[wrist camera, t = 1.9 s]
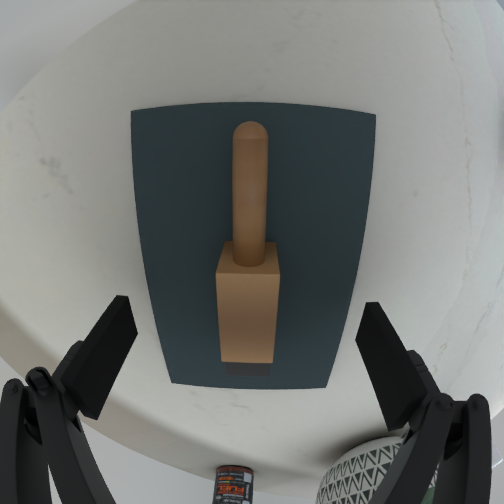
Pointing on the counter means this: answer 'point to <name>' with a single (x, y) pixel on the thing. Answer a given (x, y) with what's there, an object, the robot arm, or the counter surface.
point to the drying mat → (277, 230)
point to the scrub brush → (248, 263)
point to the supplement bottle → (233, 485)
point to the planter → (362, 473)
